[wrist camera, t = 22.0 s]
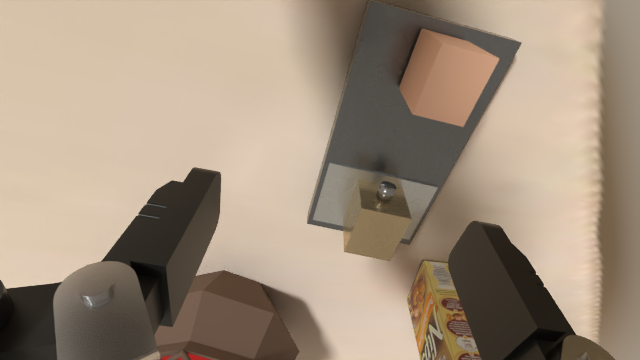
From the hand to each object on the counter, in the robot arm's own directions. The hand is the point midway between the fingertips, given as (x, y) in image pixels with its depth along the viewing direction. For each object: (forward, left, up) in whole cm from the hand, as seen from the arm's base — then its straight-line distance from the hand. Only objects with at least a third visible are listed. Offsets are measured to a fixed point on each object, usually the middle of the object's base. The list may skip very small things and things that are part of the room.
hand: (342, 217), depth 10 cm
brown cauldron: (+40, -7, -23) cm, 47 cm away
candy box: (+27, +21, -23) cm, 41 cm away
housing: (+14, +8, -21) cm, 26 cm away
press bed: (+7, +8, -23) cm, 25 cm away
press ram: (-2, +8, -20) cm, 22 cm away
